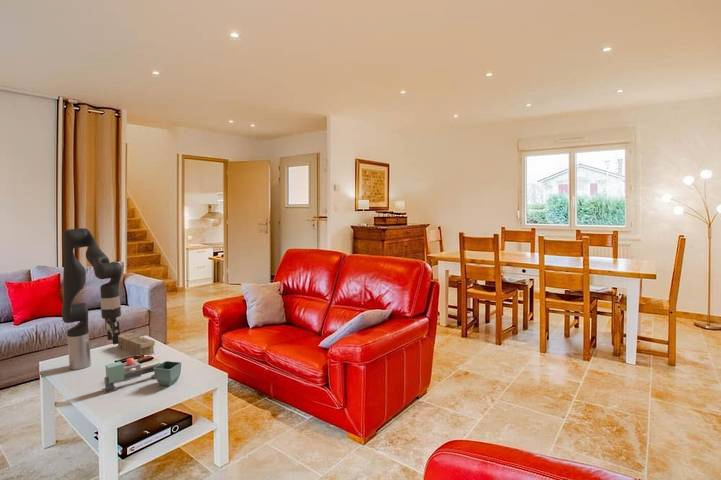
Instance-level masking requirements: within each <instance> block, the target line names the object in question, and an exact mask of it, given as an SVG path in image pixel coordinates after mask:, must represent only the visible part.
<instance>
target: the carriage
mask: <svg viewBox="0 0 721 480" xmlns="http://www.w3.org/2000/svg"><path fill="white" fill-rule="evenodd" d="M123 364H124V363H122V361H116V362H112V363H107V364H105V365H104V366H105V377H108V380H109V383H112V382H114V383H116V382H115V381H117V382H120V381H119V380H121V381H123V379H124V367H123Z"/></svg>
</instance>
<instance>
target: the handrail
mask: <svg viewBox="0 0 721 480" xmlns="http://www.w3.org/2000/svg"><path fill="white" fill-rule="evenodd" d="M160 364H161V362H159V363H156V364H151V365H147V366H143V367H141V368H139V369H136V370H132V371H128V372H124V379H128V378H132V377H135V376H139V375H141V376H143V375H146V374H150V373H152V372H154V368H155V367H156V366H158V365H160ZM151 378H153V379H154V380H156V377H155V373H154V374H151ZM103 379H104V388H102V389H101V391H102V392H103V393H104V395H106V394H109V393H112V392H116V391H118V387H116V386H115V384H114V383H116V382H117V383H118V382H120V381H123V380H124V379H123V380H119V381H115V382H112V383H109V380H108V377H106V376H105V377H104V378H103ZM124 381H125V380H124Z"/></svg>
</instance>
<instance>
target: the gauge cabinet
mask: <svg viewBox="0 0 721 480" xmlns="http://www.w3.org/2000/svg"><path fill="white" fill-rule="evenodd" d="M123 367H124V372H128V371H132V370H136V369H139V368H142V366H141V364H140V362H138V360H134V365H131V366H127V363H126V362H125V363H123ZM139 377H142V375H139V376H135V377H132V378H128V379H124V381H128V380H132V379H136V378H139Z"/></svg>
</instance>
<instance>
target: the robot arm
mask: <svg viewBox="0 0 721 480" xmlns="http://www.w3.org/2000/svg"><path fill="white" fill-rule="evenodd" d="M85 247H87V249H86V251H85V259H86V261H88V263H89V264H90V265H91V266H92V267H93V268H92V269H93V271H94V276H95V278H97V279H98V280H107V279H110V280H109V281H108V282H105V283H104V284H102V285H101V286H100V287H99V288H100V312H101V318H102V319H104V329H105V331H106V333H107V335H106V336H107V337H106V338H107V340H108V341H112V345H118V343H119V340H118V336H120V335H121V331H120V330H121V329H120V321H118V320H117V318H120V317H121V315H122V310H121V306H122V305H121V297H120V288H119V287H120V283H121V282H120V281H121V277H122V273H123V268H122V267H123V266H122V265H121V264H120V263H119V262H117V261H110V258H109V257H108V256H107V254H105V252H103V251H102V249H101V248H100V247H99V245H98V243H97V240H96V239H95V238H94V236H93V233H92V232H91V231H90V230H89V229H88V228H85V227H83V228H79V227H78V228H70V229H66V230H64V231H63V233H62V252H63V273H62V274H63V277H62V278H63V279H62V280H63V281H62V282H63V284H62V285H63V298H62V299H63V300H62V307H61V308H62V309H61V318H62V321H63V322H64V323H65V324H71V323H76V322H78V323H77V324H76V325H74V326H72V327H71V328H69V329H67V331H66V335H67V336H66V337H67V338H66V339H67V349H68V363H69V365H68V366H69V370H73V371H74V370H76V371H77V370H83V369H86V368H88V367H90V366H91V365H92V358H91V348H90V346H91V345H90V343H91V342H90V331H89V307H88V304H87V303H86V302H79V303H77V302H76V303H73V302H74V299H75V298H76V296H77V295H78V294H79V293H80V291H82V290H83V288H84V286H85V284H86V279H87V271H86V268H85V267H84V266H83V264H82V263H81V262H80V261H79V260H78V259H77V257H76V256H75V253H74V249H79V248H85Z"/></svg>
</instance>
